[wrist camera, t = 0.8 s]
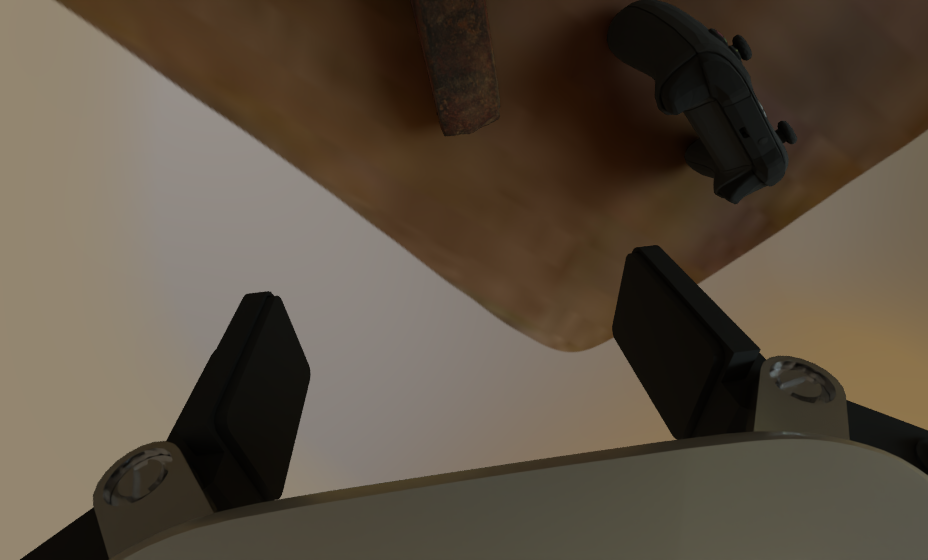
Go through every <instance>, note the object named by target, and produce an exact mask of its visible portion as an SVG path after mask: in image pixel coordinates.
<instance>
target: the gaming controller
mask: <svg viewBox="0 0 928 560" xmlns="http://www.w3.org/2000/svg"><path fill="white" fill-rule="evenodd" d="M607 42H608V46H609V49H610V50H611V51H612V52H613V54H614V55H615V56H616V57H617V58H619V59H620V60H621V61H623V62H624V63H626V64H628V65H630V66H632V67H634V68H636V69H637V70H639V71H641V72H643V73H645V74H647V75H649V76H650V77H652V78H653V79H654V80H655V99H656V102H657V106H658V109H659V110H660V111H662V112H663V113H664V114H666V115H678V114H680V113H681V112H684V114H685V115H686V117H687V119H688V120H689V122H690V123H691V125H692V127H693V128H694V130H695V131H696V133H697V135H698V136H699V139H698V140H696V141H695V142H694V143H693V144H692V145H690V146H689V148H688V149H687V150H686V152H685V156H684V157H685V160H686V163H687V164H688V165H689V166H690V167H691V168H692V169H693V170H695V171H696V172H698V173H700V174H702V175H704V176H708V177H711V178H714V193H715V194H716V195H717V196H719V197H721V198H725V199H726V200H727V201H729V202H731V203H734V204H737V203H738V202H739V201H740V200H741V199H742V198H743V197H745V196H747V195H749V194H751V193H752V192H755V191H757V190H759V189H761V188H763V187H766V186H773V185H775V184H776V183H777V182H779V181H780V180H781V179H782V178H783V176H784V174H785V171H786V169H787V166H788V160H789V159H788V155H787V151H786V149H785V147H784V145H783V143H784V142H786V141H787V142H788V143H789V144H794V143H796V141H797V137H796V135H795V133H794V131H793V129H792V128H791V126H790V125H789V124H788V123H787V122H786V121H780V122H779V123H778V129H777V130H776V131H774V129H773V127H772V126H771V124H770V123H769V121H768V119H767V116H766V114H765V111H764V109H763V107H762V105H761V104H760V102H759V101H758V99H757V97H756V95H755V93H754V91H753V87H752V84H751V79H750V76H749V74H748V72H747V70H746V69H745V67H744V66H743V65H742V61H741V58H742V59H743V60H746V61H747V60H749V59H750V58H751V56H752V52H751V49H750V47H749V45H748V44H747V42H746V41H745V40H744V38H743V37H742V36H740V35H736V36H735V37H734V38H733V40H732V42H733V45H732V46H728V44H727V41H726V39H725V38H724V36H723V35H722V34H721V33H719V32H718V31H717V30H715V29H712V28H711V29H707V28H706V27H705V26H704V25H703V24H702V23H700V22H699V21H697V20H696V19H694V18H693V17H691V16H690V15H688V14H687V13H685V12H684V11H682V10H680V9H679V8H677V7H675V6H673V5H671V4H668V3H665V2H662V1H658V0H639V1H636V2H633V3H631V4H630V5H628V6H627V7H625V8H624V9H622V10H621V11H620V12H619V13H618V14H617V15H616V16H615V17H614V19H613V20H612V22H611V24H610V26H609V29H608V33H607Z"/></svg>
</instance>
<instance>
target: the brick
mask: <svg viewBox="0 0 928 560" xmlns="http://www.w3.org/2000/svg"><path fill="white" fill-rule="evenodd" d="M410 2H411V5H412V9H413V13H414V18H415V22H416V26H417V30H418V34H419V38H420V43H421V47H422V51H423V55H424V59H425V63H426V67H427V71H428V76H429V80H430V84H431V89H432V93H433V96H434V101H435V105H436V109H437V115H438V118H439V123H440V127H441V130H442V132H443V134H444V136H454V135H459V134H470V133H473V132H475V131H476V130H478V129H479V128H481V127H483V126H486V125H489V123H492V122H494V121H496V120H498V119H499V108H500V97H499V88H498V81H497V76H496V68H495V60H494V54H493V48H492V41H491V35H490V27H489V21H488V15H487V8H486V1H485V0H410Z"/></svg>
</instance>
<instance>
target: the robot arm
mask: <svg viewBox="0 0 928 560" xmlns="http://www.w3.org/2000/svg"><path fill="white" fill-rule="evenodd" d="M612 331H613V336H614V338H615V340H616V342H617V343H618V345H619V347H620V349H621V350H622V352H623V353H624V355H625V357H626V358H627V360H628V362H629V363H630V365H631V367H632V368H633V370H634V372H635V374H636V375H637V377H638V379H639V380H640V382H641V383H642V385H643V387H644V389H645V390H646V392H647V394H648V395H649V397H650V399H651V400H652V402H653V404H654V405H655V407H656V409H657V410H658V412H659V414H660V415H661V417H662V419H663V420H664V422H665V424H666V425H667V427H668V429H669V430H670V432H671V434H672V435H673V437H674V438H675V439H677V440H672V441H664V442H657V443H650V444H643V445H636V446H629V447H622V448H615V449H608V450H601V451H594V452H587V453H580V454H573V455H566V456H560V457H553V458H546V459H539V460H533V461H525V462H518V463H511V464H505V465H499V466H492V467H485V468H478V469H471V470H464V471H458V472H451V473H444V474H438V475H431V476H424V477H418V478H411V479H405V480H399V481H392V482H385V483H379V484H373V485H366V486H359V487H353V488H346V489H340V490H333V491H327V492H321V493H316V494H309V495H304V496H297V497H292V498H286V499H281V500H277V499H279V498H280V497H281V495H282V492H283V489H284V484H285V480H286V476H287V472H288V468H289V463H290V460H291V456H292V451H293V447H294V443H295V439H296V435H297V430H298V427H299V422H300V418H301V414H302V410H303V406H304V402H305V398H306V394H307V390H308V385H309V381H310V367H309V364H308V362H307V360H306V357H305V355H304V352H303V350H302V347H301V345H300V343H299V340H298V338H297V335H296V333H295V331H294V328H293V326H292V324H291V321H290V319H289V316H288V314H287V311H286V309H285V307H284V304H283V302H282V300H281V298H280V297H279V296H274V295H273V294H272V293H271V292H269V291H268V292H259V293H250V294H246V295H245V296H244V297H243V299H242V301H241V303H240V305H239V307H238V309H237V311H236V312H235V314H234V316H233V318H232V320H231V322H230V324H229V326H228V328H227V330H226V332H225V334H224V336H223V337H222V339H221V341H220V343H219V345H218V347H217V349H216V350H215V351H214V352H213V354H212V355H211V357H210V359H209V361H208V363H207V364H206V366H205V368H204V371H203V372H202V374H201V376H200V378H199V380H198V382H197V383H196V385H195V387H194V389H193V391H192V393H191V395H190V397H189V399H188V401H187V402H186V404H185V406H184V408H183V410H182V412H181V414H180V416H179V418H178V420H177V421H176V424H175V425H174V427H173V429H172V431H171V433H170V435H169V437H168V439H167V441H160V442H152V443H149V444H146V445H143V446H140V447H138V448H137V449H135V450H133V451H131V452H129V453H127V454H126V455H125V456H123V457H122V458H120V459H119V460H118V461H116V462H115V463H114V464H113V465H112V466H111V467H110V468H109V469H108V470H107V471H106V472H105V474H104V475H103V477H102V478H101V479H100V481H99V482H98V484H97V486H96V489H95V491H94V494H93V506H94V507H93V508H92V509H91V510H89V511H88V512H86V513H85V514H84V515H82V516H81V517H79V518H78V519H76V520H75V521H74V522H72V523H71V524H69V525H68V526H67V527H65V528H64V529H62V530H61V531H60V532H58V533H57V534H56V535H54V536H53V537H51V538H50V539H48V540H47V541H46V542H44V543H43V544H41V545H40V546H38V547H37V548H36V549H34V550H33V551H31V552H30V553H29V554H27V555H26V556H24V557H23V558H22V559H20V560H928V430H925V429H922V428H920V427H917V426H914V425H912V424H909V423H906V422H904V421H901V420H898V419H896V418H893V417H890V416H888V415H885V414H882V413H880V412H877V411H874V410H872V409H869V408H866V407H864V406H861V405H858V404H856V403H853V402H850V401H848V400H846V395H845V392H844V389H843V387H842V385H841V384H840V383H839V382H838V380H837V379H836V378H835V377H833V376H832V375H831V374H830V373H829V372H827V371H826V370H824V369H823V368H821V367H819V366H818V365H816V364H813V363H811V362H809V361H806V360H803V359H800V358H795V357H790V356H776V357H771V358H769V359H767V360H766V359H765V358H764V357H763V356H762V355H761V354H760V353H759V352H760V348H759V347H758V346H757V345H756V344H755V343H754V342H753V341H752V340H751V339H750V338H749V337H748V336H747V335H746V334H745V333H744V332H743V331H742V330H741V329H740V328H739V327H738V326H737V325H736V324H735V323H734V322H733V321H732V320H731V319H730V318H729V317H728V316H727V315H726V314H725V313H724V312H723V311H722V310H721V309H720V307H718V305H717V304H716V303H715V302H714V301H713V300H711V298H710V297H709V296H708V295H707V294H706V293H705V292H704V291H703V290H702V289H701V288H700V287H699V286H698V285H697V284H696V283H695V282H694V281H693V280H692V279H691V278H690V277H689V276H688V275H687V274H686V273H685V272H684V271H683V270H682V269H681V268H680V267H679V266H678V265H677V264H676V263H675V262H674V261H673V260H672V259H671V258H670V257H669V256H668V255H667V254H666V253H665V252H664V251H663V250H662V249H661V248H660V247H659V246H657V245H653V246H644V247H636V248H634V250H633V251H632V253H630V254H628V255H627V257H626V261H625V266H624V271H623V276H622V281H621V286H620V291H619V296H618V301H617V305H616V310H615V315H614V320H613V325H612Z"/></svg>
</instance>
